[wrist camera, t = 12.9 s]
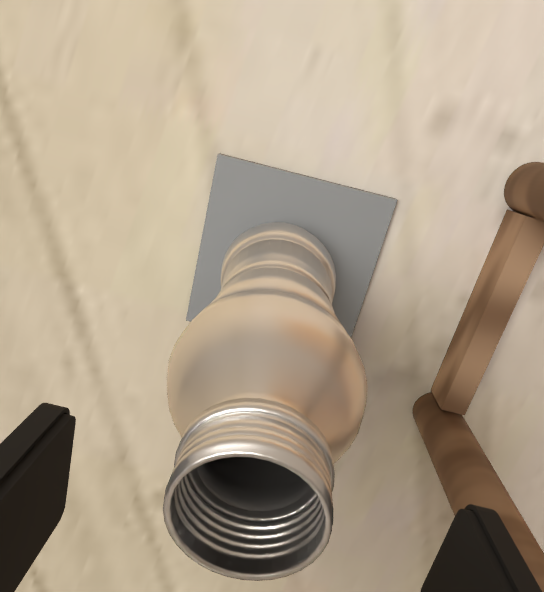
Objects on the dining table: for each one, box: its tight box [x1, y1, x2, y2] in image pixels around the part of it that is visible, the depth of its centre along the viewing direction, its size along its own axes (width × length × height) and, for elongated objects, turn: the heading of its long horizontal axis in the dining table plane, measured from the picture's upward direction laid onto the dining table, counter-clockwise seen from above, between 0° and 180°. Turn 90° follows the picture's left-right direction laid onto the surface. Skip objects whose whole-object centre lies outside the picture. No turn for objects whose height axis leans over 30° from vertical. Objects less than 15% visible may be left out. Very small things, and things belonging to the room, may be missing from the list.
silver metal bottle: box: [163, 222, 367, 581], centre depth 19 cm, size 6×7×20 cm
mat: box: [186, 154, 397, 338], centre depth 29 cm, size 11×11×1 cm
